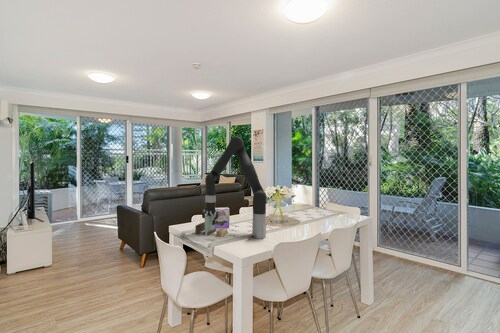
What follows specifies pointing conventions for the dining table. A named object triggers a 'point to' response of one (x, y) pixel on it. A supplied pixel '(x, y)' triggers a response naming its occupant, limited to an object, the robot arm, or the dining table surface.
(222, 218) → the candy box
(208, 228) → the sage sheet
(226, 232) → the board
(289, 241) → the dining table surface
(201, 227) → the walnut rack
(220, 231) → the offcut top
